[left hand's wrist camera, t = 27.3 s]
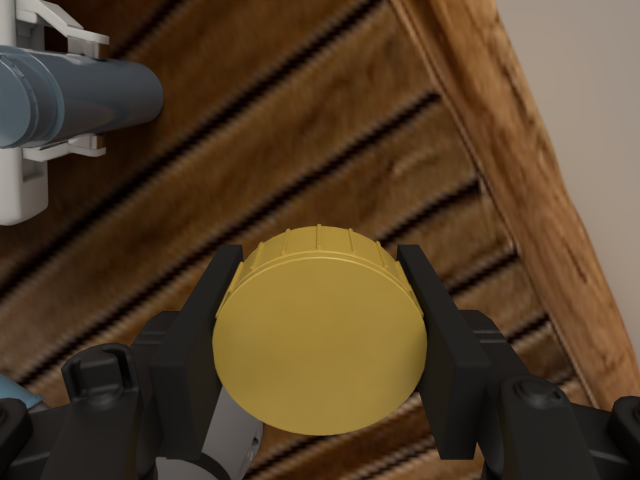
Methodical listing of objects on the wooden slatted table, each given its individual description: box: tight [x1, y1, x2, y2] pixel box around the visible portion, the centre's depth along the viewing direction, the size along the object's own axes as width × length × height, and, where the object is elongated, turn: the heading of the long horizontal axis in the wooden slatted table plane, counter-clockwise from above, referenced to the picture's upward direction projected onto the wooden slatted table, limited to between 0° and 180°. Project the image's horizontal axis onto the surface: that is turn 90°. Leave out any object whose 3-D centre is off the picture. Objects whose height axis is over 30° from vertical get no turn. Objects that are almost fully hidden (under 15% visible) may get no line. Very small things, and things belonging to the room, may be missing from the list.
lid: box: [212, 224, 427, 435], centre depth 11 cm, size 6×6×2 cm
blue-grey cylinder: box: [0, 45, 164, 149], centre depth 25 cm, size 5×5×16 cm
